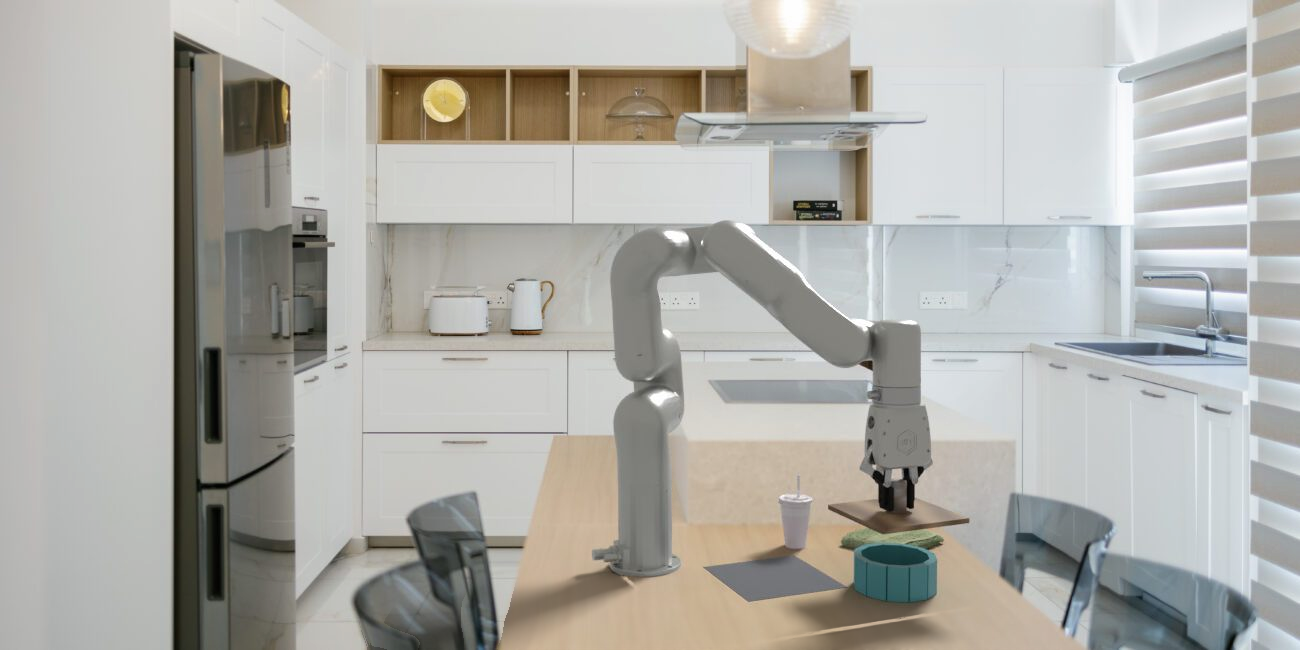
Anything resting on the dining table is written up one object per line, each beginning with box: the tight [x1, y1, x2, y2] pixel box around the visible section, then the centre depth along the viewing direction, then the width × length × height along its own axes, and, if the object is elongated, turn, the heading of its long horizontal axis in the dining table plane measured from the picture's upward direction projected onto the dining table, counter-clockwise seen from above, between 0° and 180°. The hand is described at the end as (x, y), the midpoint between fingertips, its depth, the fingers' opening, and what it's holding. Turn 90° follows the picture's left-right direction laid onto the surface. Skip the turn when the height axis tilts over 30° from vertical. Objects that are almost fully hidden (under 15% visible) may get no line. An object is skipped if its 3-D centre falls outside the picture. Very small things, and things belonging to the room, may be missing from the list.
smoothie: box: [778, 474, 814, 550], centre depth 177 cm, size 6×6×14 cm
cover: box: [827, 478, 970, 534], centre depth 154 cm, size 16×16×6 cm
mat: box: [703, 554, 848, 603], centre depth 161 cm, size 18×18×1 cm
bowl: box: [852, 543, 938, 603], centre depth 155 cm, size 13×13×6 cm
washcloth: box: [840, 527, 945, 550], centre depth 180 cm, size 13×18×3 cm
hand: (896, 507), depth 154 cm, fingers closed on cover, 3 cm apart
